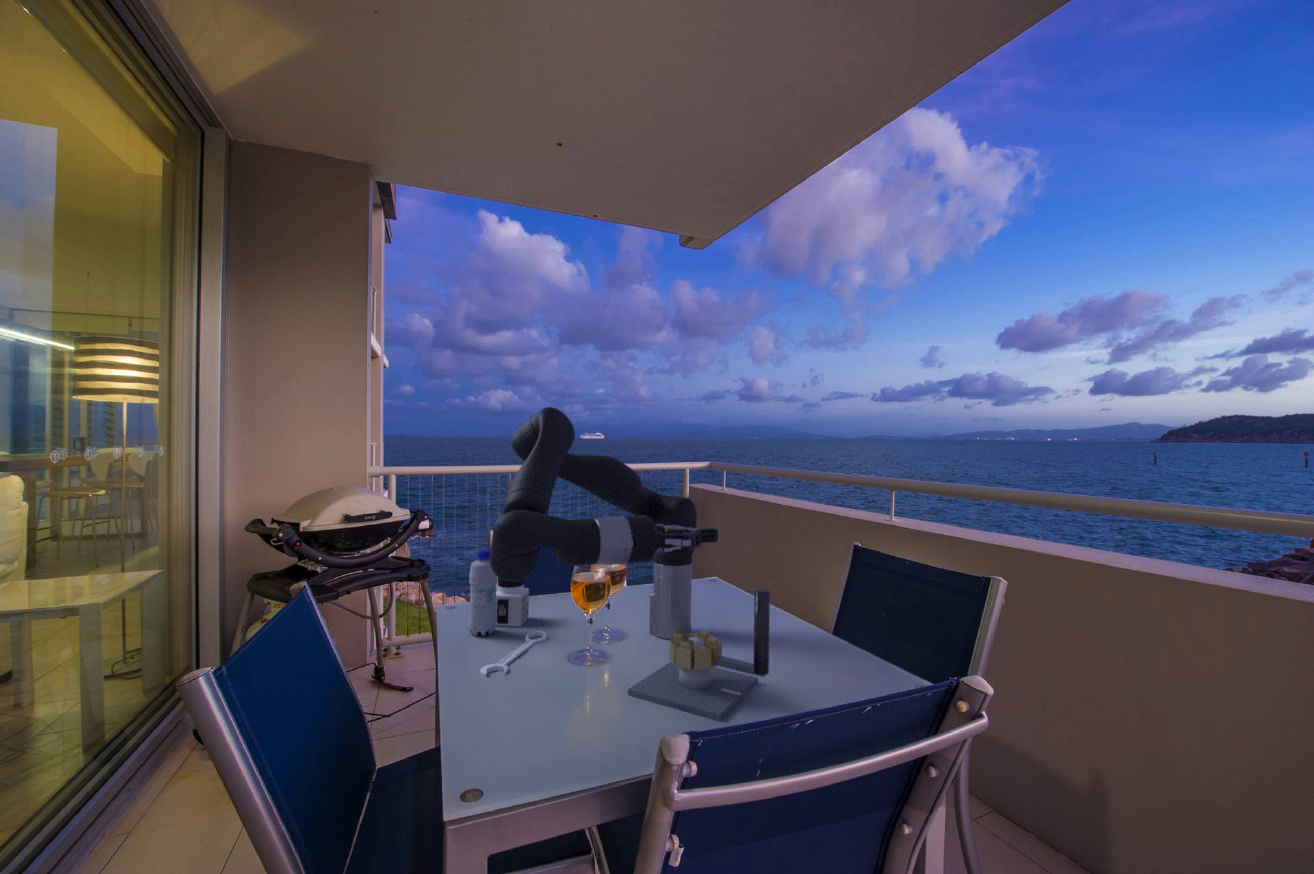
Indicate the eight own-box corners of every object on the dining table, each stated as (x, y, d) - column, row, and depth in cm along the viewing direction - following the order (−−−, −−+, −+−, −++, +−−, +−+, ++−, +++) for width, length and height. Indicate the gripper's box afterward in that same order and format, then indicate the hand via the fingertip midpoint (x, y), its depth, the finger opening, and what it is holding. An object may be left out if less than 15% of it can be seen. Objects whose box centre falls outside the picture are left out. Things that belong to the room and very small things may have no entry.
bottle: (461, 635, 131) (463, 550, 131) (480, 627, 137) (482, 545, 137) (484, 639, 128) (486, 552, 129) (502, 630, 134) (504, 548, 135)
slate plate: (628, 694, 100) (629, 644, 100) (676, 663, 116) (676, 619, 116) (719, 720, 91) (719, 665, 91) (758, 682, 106) (758, 635, 107)
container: (521, 627, 138) (522, 574, 138) (490, 626, 138) (491, 573, 138) (528, 617, 145) (530, 567, 146) (499, 617, 146) (500, 567, 146)
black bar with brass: (661, 662, 102) (662, 581, 102) (686, 647, 110) (687, 573, 110) (757, 687, 92) (759, 597, 92) (777, 669, 100) (778, 587, 100)
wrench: (500, 681, 106) (500, 670, 107) (475, 678, 108) (475, 668, 108) (550, 640, 131) (551, 631, 131) (529, 638, 132) (530, 629, 132)
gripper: (607, 556, 94) (697, 550, 101) (636, 572, 82) (736, 564, 89) (607, 511, 94) (697, 509, 101) (637, 521, 82) (736, 517, 89)
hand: (715, 534), depth 95 cm, fingers closed
